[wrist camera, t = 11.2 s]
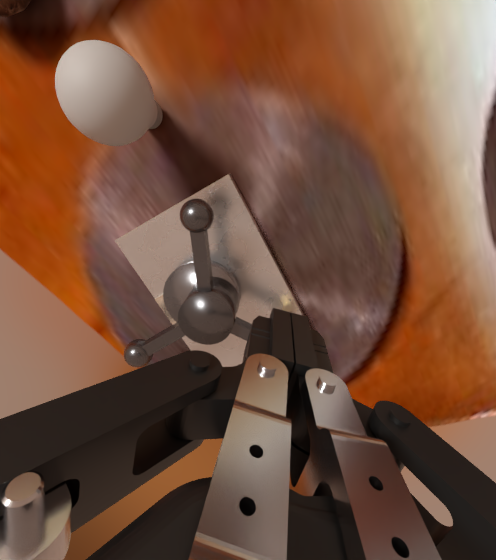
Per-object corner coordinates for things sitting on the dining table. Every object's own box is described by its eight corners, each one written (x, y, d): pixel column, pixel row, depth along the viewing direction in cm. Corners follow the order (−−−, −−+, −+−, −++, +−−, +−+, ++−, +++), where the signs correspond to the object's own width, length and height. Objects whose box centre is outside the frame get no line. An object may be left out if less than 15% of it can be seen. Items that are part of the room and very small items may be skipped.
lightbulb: (136, 158, 29) (62, 155, 19) (110, 90, 27) (10, 44, 17) (193, 139, 28) (146, 125, 18) (170, 66, 26) (102, 3, 16)
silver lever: (304, 188, 27) (312, 194, 21) (303, 340, 33) (309, 375, 27) (114, 198, 29) (76, 206, 23) (145, 340, 34) (121, 373, 29)
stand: (313, 331, 34) (315, 340, 33) (213, 371, 38) (210, 381, 36) (230, 173, 29) (227, 174, 27) (121, 237, 32) (112, 241, 30)
